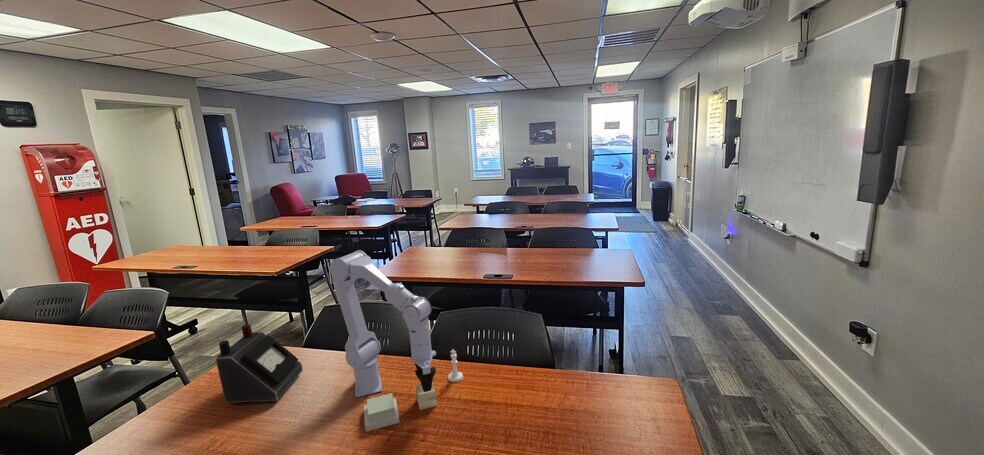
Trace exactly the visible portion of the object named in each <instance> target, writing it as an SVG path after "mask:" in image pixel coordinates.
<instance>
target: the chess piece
mask: <svg viewBox="0 0 984 455" xmlns="http://www.w3.org/2000/svg"><path fill="white" fill-rule="evenodd" d="M450 353H451V354H450V358H451V361H450V364H452V372H450V373H449V374H448V375H447V379H448V381H450V382H452V383H457V382H461V381H462V380H463V379H464V375H463V373H462V372H460V371H458V368H457V363H458V362H459V361H458V360H457V357H458V356H457V355H458V354H457V351H455V349H453V348H452V350H450Z"/></svg>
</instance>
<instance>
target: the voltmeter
mask: <svg viewBox="0 0 984 455" xmlns="http://www.w3.org/2000/svg"><path fill="white" fill-rule="evenodd" d="M241 332H242V333H241V334H242V337H241V338H240V339H238V340H237V341H235V343H233V344H232V345H230V342H229V340H226V339H225V340H222V341H220V342H219V343H218V346H219V352H220V354H219V355H218V356H216V357H215V359H214V360H215V364H216V368H217V372H218V376H219V380H220V381H219V382H220V384H221V389H222V394H223V397H224V403H233V404H234V403H237V404H239V403H245V402H269V401H271V403H277V402H278V401H279V400H280V397H282V396H283V394H284V393H285V392H287V390H288V388H290V386H291V384H293V383H294V382H295V380H297V379H298V377H299V376H300V374H301V373H302V372H303V371H304V369H303V363H301V362H300V361H299V358H298V357H296V356H295V354H293V353H292V352H291V351H289V350H288V349H287V348H286V347H284V346H283V345H282V344H281V343H279V342H278V341H277V340H276V339H274V338H273V337H272V336H270V334H266V333H264V332H263V331H256V332H255V331H254V332H253V329H252V326H251V324H249V323H248V324H243V325H242V326H241ZM238 402H239V403H238Z"/></svg>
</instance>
